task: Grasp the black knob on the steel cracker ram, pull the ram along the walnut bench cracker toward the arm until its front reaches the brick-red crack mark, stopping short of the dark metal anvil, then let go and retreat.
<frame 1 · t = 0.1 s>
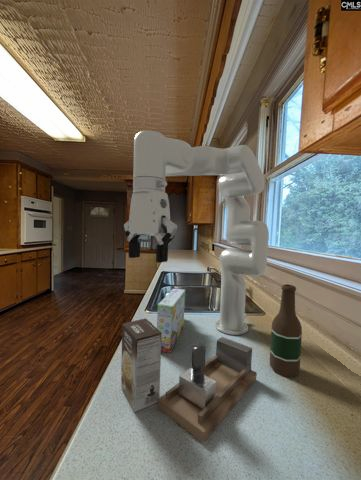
hand: (147, 259, 56), 31 cm above the worktop, fingers open, 9 cm apart
medicine bottle: (171, 320, 97), on the worktop
snack box: (171, 337, 83), on the worktop
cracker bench: (211, 392, 55), on the worktop
coffee box: (139, 395, 54), on the worktop
cracker ram: (197, 371, 50), point 8 cm above the worktop, slide at 0.0 cm
beer bottle: (284, 370, 65), on the worktop
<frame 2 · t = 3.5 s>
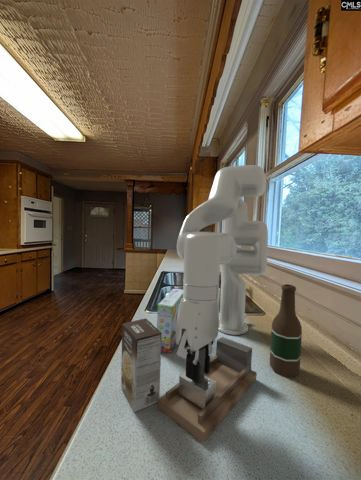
hand: (197, 374, 50), 7 cm above the worktop, fingers closed on cracker ram, 3 cm apart
cracker ram: (197, 371, 50), point 8 cm above the worktop, slide at 0.0 cm, touching gripper
everything else where it was.
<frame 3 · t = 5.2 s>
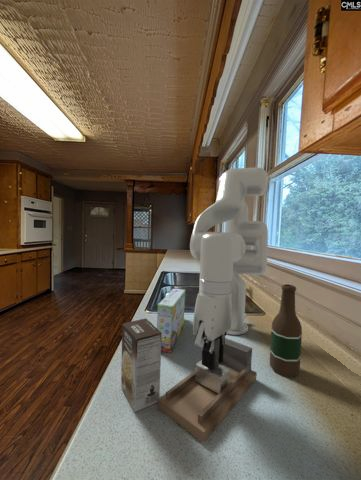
hand: (212, 362, 55), 7 cm above the worktop, fingers closed on cracker ram, 3 cm apart
cracker ram: (212, 360, 55), point 8 cm above the worktop, slide at 5.9 cm, touching gripper
everything else where it was.
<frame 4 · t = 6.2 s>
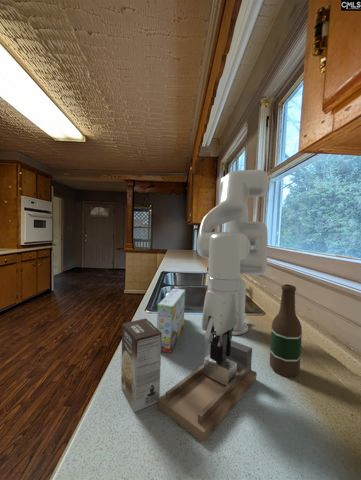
hand: (220, 356, 57), 7 cm above the worktop, fingers closed on cracker ram, 3 cm apart
cracker ram: (220, 354, 57), point 8 cm above the worktop, slide at 9.4 cm, touching gripper
everything else where it was.
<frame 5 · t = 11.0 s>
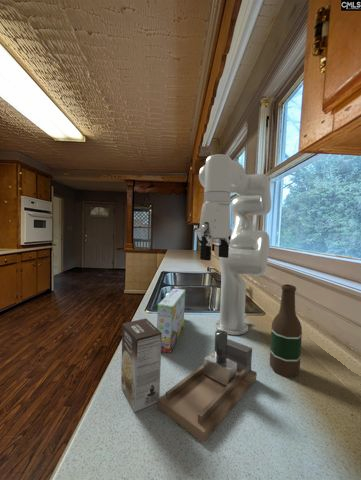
hand: (214, 258, 68), 30 cm above the worktop, fingers open, 9 cm apart
cracker ram: (220, 354, 57), point 8 cm above the worktop, slide at 9.5 cm
everything else where it was.
at the end: cracker ram slide at 9.5 cm; the gripper is holding nothing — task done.
